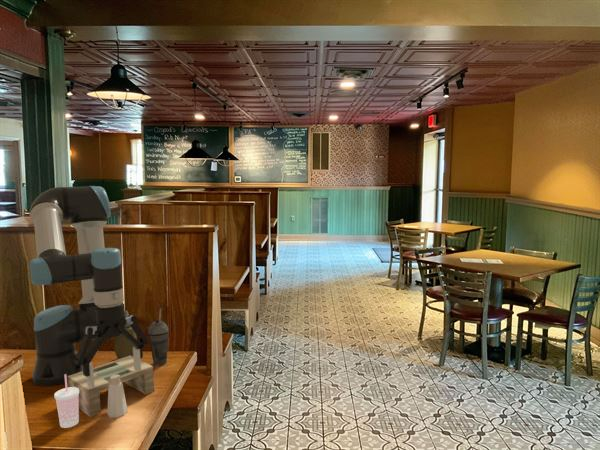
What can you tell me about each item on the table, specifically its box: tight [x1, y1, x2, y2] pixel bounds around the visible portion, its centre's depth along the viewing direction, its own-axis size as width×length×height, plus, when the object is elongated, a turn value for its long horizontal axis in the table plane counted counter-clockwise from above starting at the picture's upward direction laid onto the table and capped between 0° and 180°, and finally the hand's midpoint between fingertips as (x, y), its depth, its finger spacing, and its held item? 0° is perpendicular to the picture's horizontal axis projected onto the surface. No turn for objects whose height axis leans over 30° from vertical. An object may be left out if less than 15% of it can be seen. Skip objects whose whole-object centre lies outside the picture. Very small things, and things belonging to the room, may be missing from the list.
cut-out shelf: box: [67, 356, 155, 418], centre depth 140 cm, size 14×20×8 cm
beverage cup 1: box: [53, 374, 80, 429], centre depth 125 cm, size 6×6×14 cm
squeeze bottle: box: [114, 310, 138, 360], centre depth 168 cm, size 8×8×18 cm
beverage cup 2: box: [147, 308, 170, 367], centre depth 164 cm, size 7×7×20 cm
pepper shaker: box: [107, 375, 128, 419], centre depth 130 cm, size 5×5×11 cm
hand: (115, 378), depth 129 cm, fingers open, 13 cm apart
